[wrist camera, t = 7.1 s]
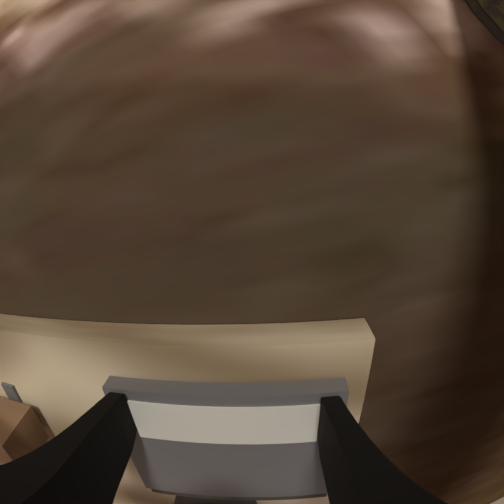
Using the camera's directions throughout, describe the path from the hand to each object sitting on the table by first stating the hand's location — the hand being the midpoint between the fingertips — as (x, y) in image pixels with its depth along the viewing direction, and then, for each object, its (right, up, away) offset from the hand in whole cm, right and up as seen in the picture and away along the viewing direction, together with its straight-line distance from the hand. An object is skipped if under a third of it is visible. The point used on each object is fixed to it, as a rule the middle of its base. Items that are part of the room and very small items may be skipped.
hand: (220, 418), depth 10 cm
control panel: (-4, -4, +4) cm, 7 cm away
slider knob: (-12, -3, +2) cm, 12 cm away
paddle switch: (0, -2, +1) cm, 3 cm away
